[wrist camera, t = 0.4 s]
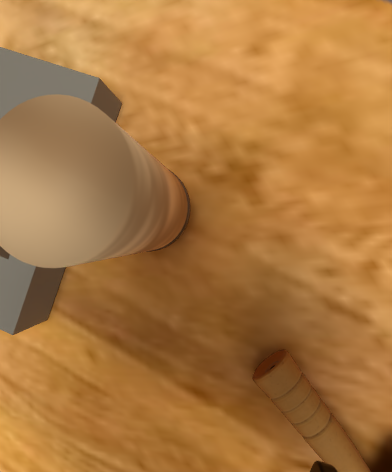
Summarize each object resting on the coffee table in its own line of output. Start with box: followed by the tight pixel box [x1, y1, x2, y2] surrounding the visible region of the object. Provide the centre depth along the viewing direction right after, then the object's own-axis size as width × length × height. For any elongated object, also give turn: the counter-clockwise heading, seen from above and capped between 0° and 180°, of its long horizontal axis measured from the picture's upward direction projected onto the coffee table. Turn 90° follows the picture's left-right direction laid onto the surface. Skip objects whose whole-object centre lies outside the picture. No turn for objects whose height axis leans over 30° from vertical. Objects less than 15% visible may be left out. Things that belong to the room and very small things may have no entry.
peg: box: [0, 94, 190, 268], centre depth 15 cm, size 6×6×12 cm
